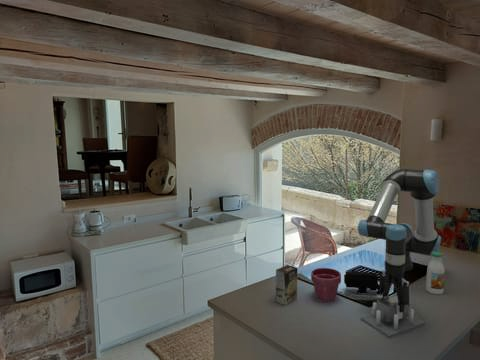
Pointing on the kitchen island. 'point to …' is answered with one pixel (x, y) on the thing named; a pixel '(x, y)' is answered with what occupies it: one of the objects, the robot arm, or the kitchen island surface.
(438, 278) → the milk bottle
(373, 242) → the kitchen island surface
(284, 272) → the coffee box
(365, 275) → the security camera
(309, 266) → the kitchen island surface
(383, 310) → the grey block
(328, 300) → the plant pot
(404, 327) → the tray
